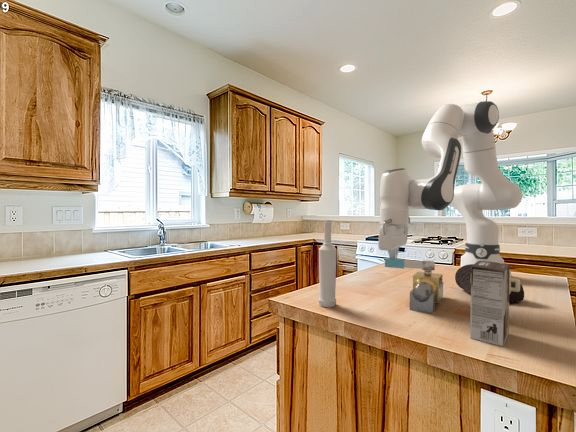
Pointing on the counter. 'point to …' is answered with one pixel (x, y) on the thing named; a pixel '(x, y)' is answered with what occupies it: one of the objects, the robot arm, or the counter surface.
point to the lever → (409, 264)
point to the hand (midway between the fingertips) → (393, 261)
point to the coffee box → (490, 302)
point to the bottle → (327, 269)
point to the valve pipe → (426, 291)
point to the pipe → (465, 283)
